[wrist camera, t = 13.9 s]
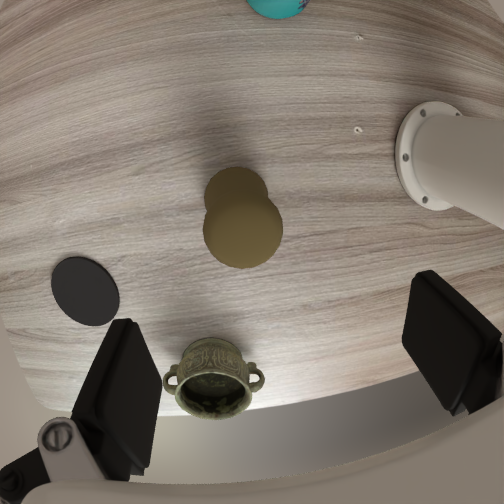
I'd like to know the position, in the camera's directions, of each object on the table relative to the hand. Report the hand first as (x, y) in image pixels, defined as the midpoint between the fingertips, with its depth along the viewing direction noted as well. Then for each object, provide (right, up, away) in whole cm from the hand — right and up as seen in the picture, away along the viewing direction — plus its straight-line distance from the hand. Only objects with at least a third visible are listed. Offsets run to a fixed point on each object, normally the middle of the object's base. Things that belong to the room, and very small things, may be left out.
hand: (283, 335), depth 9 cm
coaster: (-20, -2, +21) cm, 29 cm away
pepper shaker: (-2, +8, +19) cm, 21 cm away
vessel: (-6, -11, +26) cm, 29 cm away
